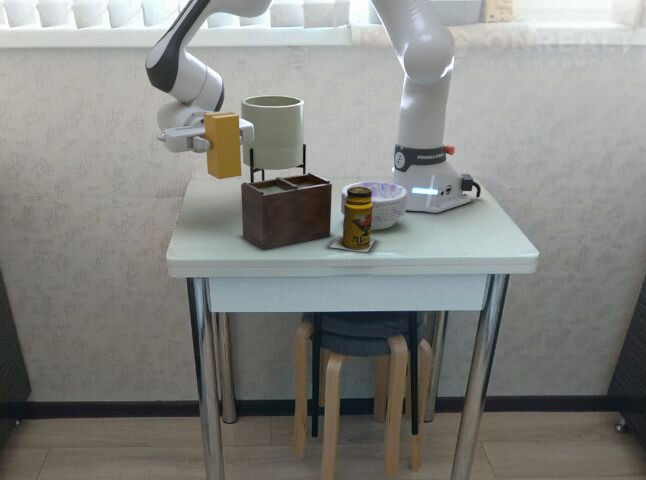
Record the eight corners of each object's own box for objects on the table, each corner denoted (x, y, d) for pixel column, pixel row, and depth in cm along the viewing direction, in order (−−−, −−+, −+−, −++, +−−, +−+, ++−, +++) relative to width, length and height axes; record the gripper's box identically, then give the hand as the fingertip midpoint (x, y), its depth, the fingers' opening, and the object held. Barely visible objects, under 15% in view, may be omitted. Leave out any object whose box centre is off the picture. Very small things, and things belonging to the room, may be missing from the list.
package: (230, 169, 155) (227, 110, 148) (241, 175, 151) (239, 115, 144) (207, 173, 153) (203, 113, 145) (218, 179, 149) (214, 117, 142)
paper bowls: (333, 231, 161) (335, 196, 156) (347, 211, 173) (349, 178, 168) (399, 238, 158) (402, 202, 153) (408, 217, 170) (412, 183, 165)
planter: (300, 209, 174) (301, 108, 160) (238, 205, 176) (234, 105, 162) (309, 191, 186) (311, 96, 172) (251, 188, 188) (248, 93, 174)
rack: (307, 223, 165) (308, 171, 158) (330, 236, 159) (332, 181, 152) (242, 236, 158) (240, 181, 151) (263, 249, 151) (262, 193, 144)
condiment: (367, 252, 150) (371, 195, 143) (329, 248, 152) (331, 191, 145) (374, 241, 156) (379, 186, 149) (338, 237, 158) (340, 182, 151)
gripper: (152, 120, 151) (178, 133, 141) (236, 110, 159) (266, 122, 150) (155, 151, 154) (181, 165, 145) (237, 140, 163) (266, 153, 153)
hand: (224, 143), depth 147 cm, fingers closed on package, 5 cm apart
